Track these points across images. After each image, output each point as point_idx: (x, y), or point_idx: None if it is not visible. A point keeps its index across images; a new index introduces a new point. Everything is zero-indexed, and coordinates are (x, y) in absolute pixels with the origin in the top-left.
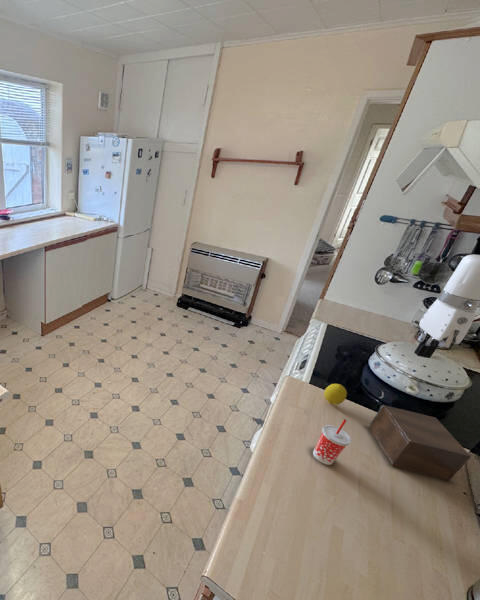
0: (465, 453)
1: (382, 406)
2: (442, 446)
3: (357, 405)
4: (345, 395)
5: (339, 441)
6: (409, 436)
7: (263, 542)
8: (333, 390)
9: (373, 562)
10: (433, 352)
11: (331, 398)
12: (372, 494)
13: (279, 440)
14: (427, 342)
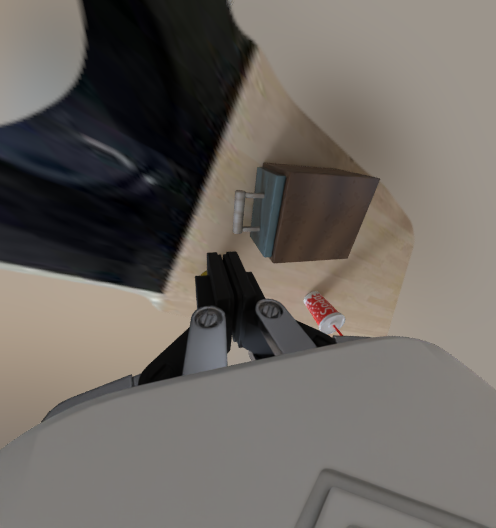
0: (374, 184)
1: (265, 256)
2: (359, 216)
3: (194, 231)
4: None
5: (341, 323)
6: (340, 255)
7: (369, 331)
8: None
9: (389, 284)
10: (244, 270)
11: None
12: (347, 268)
13: None
14: (254, 355)
